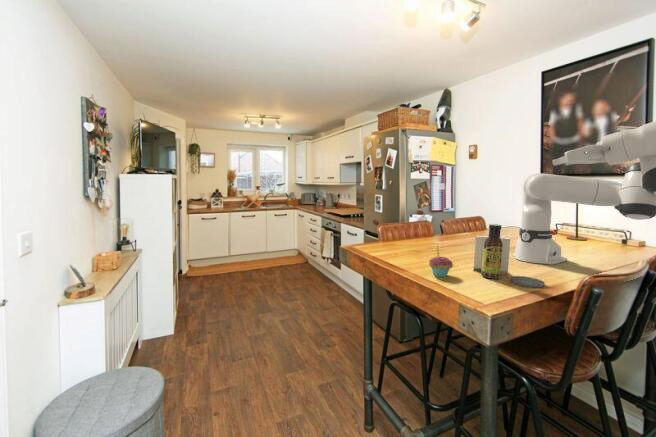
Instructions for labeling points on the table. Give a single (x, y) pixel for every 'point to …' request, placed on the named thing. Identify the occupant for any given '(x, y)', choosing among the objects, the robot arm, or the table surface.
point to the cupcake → (440, 265)
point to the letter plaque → (479, 254)
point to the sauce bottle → (492, 253)
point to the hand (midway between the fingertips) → (559, 163)
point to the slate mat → (527, 281)
